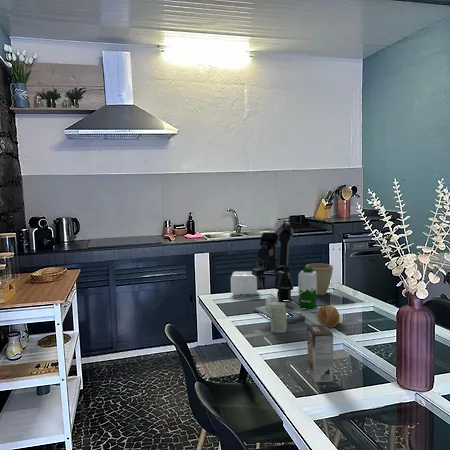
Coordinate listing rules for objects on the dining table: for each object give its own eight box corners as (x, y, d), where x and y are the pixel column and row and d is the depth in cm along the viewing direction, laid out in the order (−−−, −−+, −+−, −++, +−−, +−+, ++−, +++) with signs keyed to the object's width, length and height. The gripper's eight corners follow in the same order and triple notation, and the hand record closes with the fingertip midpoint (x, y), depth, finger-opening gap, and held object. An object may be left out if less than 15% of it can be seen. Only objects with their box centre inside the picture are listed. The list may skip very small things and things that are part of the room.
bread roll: (319, 329, 181) (319, 311, 180) (315, 318, 195) (315, 301, 194) (342, 329, 180) (342, 311, 179) (336, 318, 194) (336, 301, 194)
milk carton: (317, 305, 214) (317, 267, 212) (314, 310, 206) (314, 271, 204) (300, 304, 217) (300, 266, 215) (297, 309, 209) (296, 270, 207)
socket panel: (278, 306, 215) (277, 303, 215) (305, 319, 193) (305, 316, 193) (254, 310, 209) (253, 307, 209) (279, 325, 187) (279, 321, 187)
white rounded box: (257, 290, 247) (257, 271, 246) (257, 295, 237) (256, 275, 235) (232, 290, 249) (232, 271, 248) (230, 295, 239) (230, 275, 237)
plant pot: (330, 298, 227) (330, 269, 225) (303, 295, 233) (302, 267, 231) (335, 291, 240) (335, 263, 238) (309, 289, 246) (309, 262, 245)
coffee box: (307, 370, 143) (306, 324, 141) (325, 369, 143) (325, 323, 141) (314, 382, 134) (313, 334, 132) (333, 381, 134) (333, 333, 132)
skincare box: (287, 329, 181) (286, 302, 180) (285, 333, 177) (284, 305, 176) (272, 328, 184) (272, 301, 182) (270, 331, 179) (269, 304, 178)
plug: (273, 309, 210) (273, 295, 209) (278, 312, 206) (278, 297, 205) (266, 311, 208) (265, 296, 207) (270, 313, 204) (270, 298, 203)
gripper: (278, 252, 215) (279, 281, 217) (246, 256, 207) (247, 286, 209) (290, 255, 205) (290, 286, 206) (256, 259, 197) (257, 291, 199)
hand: (271, 287), depth 206 cm, fingers open, 9 cm apart
